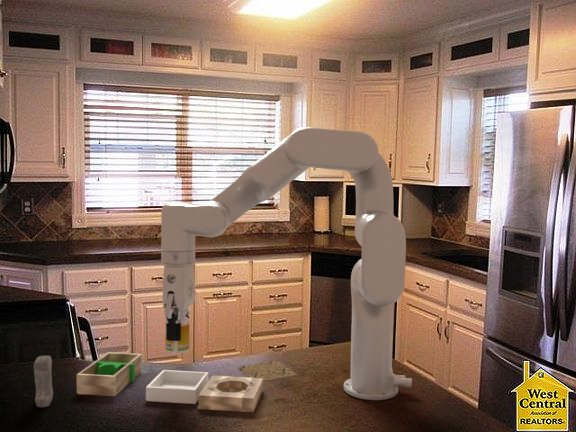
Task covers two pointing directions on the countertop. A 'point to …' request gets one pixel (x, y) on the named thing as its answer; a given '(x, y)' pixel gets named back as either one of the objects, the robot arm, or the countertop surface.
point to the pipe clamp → (114, 368)
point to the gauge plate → (231, 393)
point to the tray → (177, 386)
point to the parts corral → (107, 383)
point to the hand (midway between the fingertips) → (178, 335)
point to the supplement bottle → (183, 344)
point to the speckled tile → (268, 370)
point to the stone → (43, 381)
